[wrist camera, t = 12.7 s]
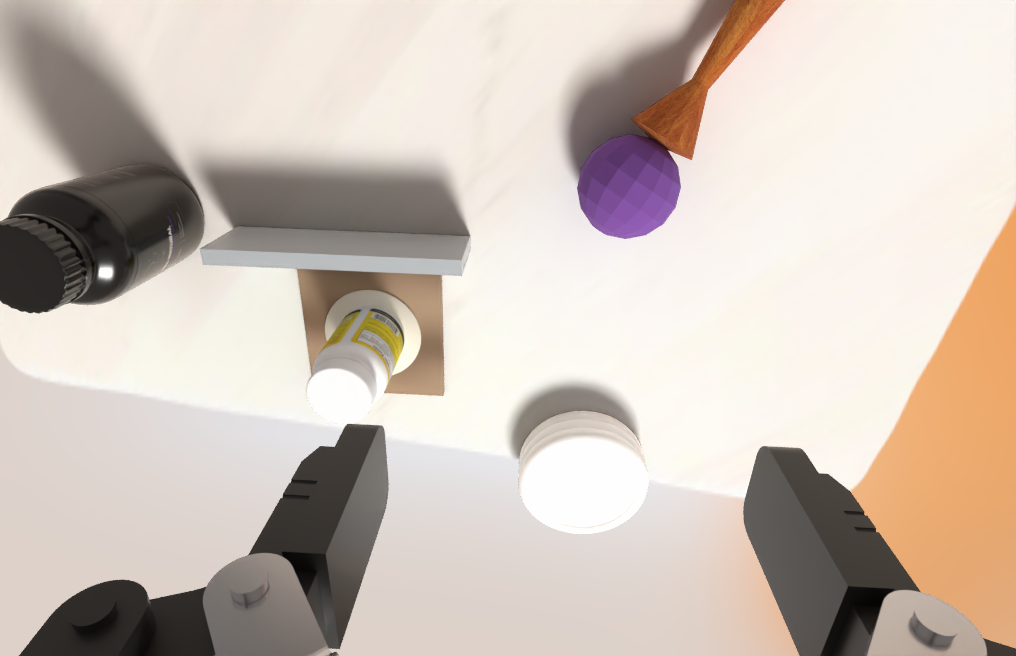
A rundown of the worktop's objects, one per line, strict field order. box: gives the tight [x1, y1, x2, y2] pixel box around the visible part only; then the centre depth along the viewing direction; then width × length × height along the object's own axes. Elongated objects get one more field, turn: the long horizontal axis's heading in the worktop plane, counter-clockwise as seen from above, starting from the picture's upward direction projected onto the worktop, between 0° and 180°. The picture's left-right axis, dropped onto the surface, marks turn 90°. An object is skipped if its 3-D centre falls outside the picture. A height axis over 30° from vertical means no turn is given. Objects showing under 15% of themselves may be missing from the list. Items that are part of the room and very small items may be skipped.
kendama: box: [577, 0, 785, 239], centre depth 33 cm, size 6×6×20 cm
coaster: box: [518, 411, 648, 534], centre depth 46 cm, size 10×10×4 cm
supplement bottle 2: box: [306, 306, 405, 424], centre depth 38 cm, size 5×5×8 cm
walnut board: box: [297, 269, 444, 396], centre depth 43 cm, size 10×10×1 cm
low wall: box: [200, 226, 470, 276], centre depth 38 cm, size 1×16×5 cm, turn 88°
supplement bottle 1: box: [0, 164, 204, 313], centre depth 34 cm, size 7×7×12 cm
